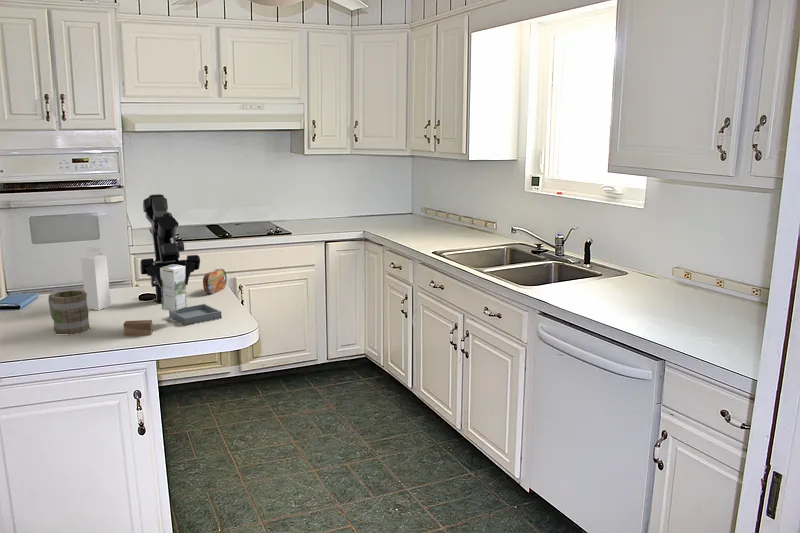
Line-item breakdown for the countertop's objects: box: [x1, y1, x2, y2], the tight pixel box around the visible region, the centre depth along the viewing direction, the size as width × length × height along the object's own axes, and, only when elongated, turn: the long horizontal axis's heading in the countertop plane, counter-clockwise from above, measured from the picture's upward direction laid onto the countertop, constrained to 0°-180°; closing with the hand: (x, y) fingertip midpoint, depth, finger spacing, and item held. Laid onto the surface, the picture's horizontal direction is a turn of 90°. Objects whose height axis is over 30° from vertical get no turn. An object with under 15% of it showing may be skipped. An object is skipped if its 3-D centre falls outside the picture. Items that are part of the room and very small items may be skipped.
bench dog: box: [123, 319, 154, 337], centre depth 214 cm, size 3×8×4 cm, turn 98°
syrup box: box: [160, 264, 188, 312], centre depth 224 cm, size 6×6×14 cm
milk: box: [80, 246, 112, 311], centre depth 242 cm, size 6×6×22 cm
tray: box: [168, 303, 223, 326], centre depth 232 cm, size 13×13×2 cm
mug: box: [48, 289, 91, 336], centre depth 218 cm, size 16×11×12 cm
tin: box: [202, 268, 228, 295], centre depth 268 cm, size 15×3×8 cm, turn 167°
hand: (174, 285), depth 222 cm, fingers closed on syrup box, 8 cm apart
